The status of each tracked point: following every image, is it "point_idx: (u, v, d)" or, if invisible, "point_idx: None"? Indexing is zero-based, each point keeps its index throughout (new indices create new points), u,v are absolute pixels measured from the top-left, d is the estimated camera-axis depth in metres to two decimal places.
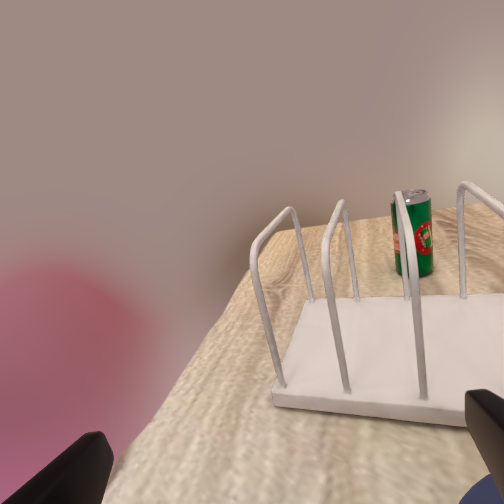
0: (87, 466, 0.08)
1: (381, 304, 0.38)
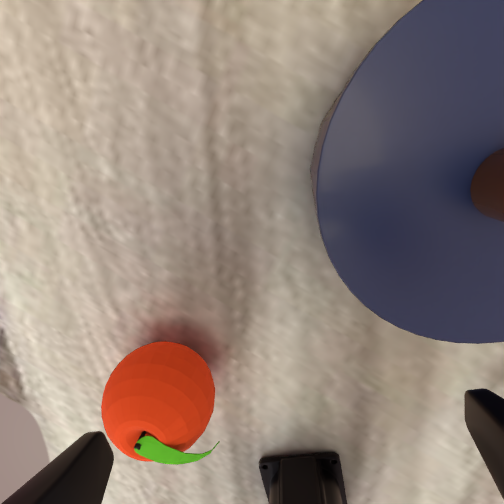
0: (87, 466, 0.07)
1: None
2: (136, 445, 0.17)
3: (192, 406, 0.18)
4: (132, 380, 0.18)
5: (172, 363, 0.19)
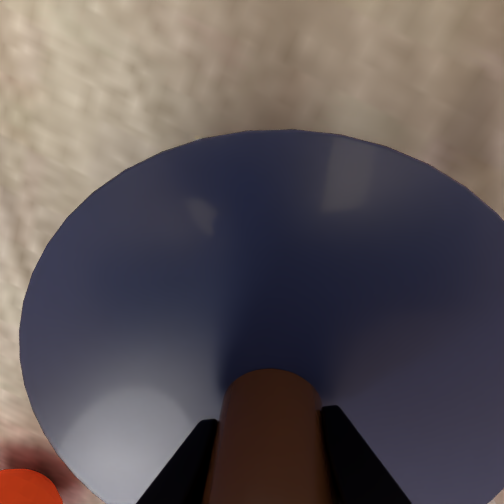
0: None
1: None
2: None
3: None
4: None
5: None
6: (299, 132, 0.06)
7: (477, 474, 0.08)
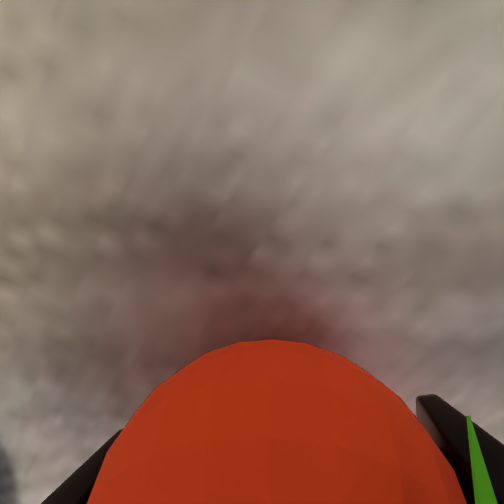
0: None
1: None
2: None
3: None
4: None
5: None
6: None
7: None
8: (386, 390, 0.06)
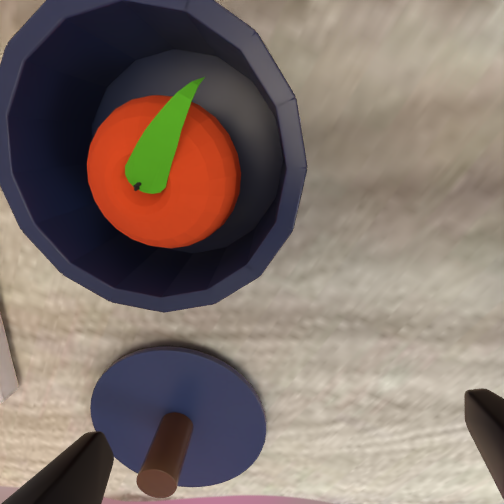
0: (87, 466, 0.07)
1: None
2: (134, 187, 0.12)
3: (115, 113, 0.13)
4: None
5: None
6: (91, 415, 0.24)
7: (196, 366, 0.22)
8: None
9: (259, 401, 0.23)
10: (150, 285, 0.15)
